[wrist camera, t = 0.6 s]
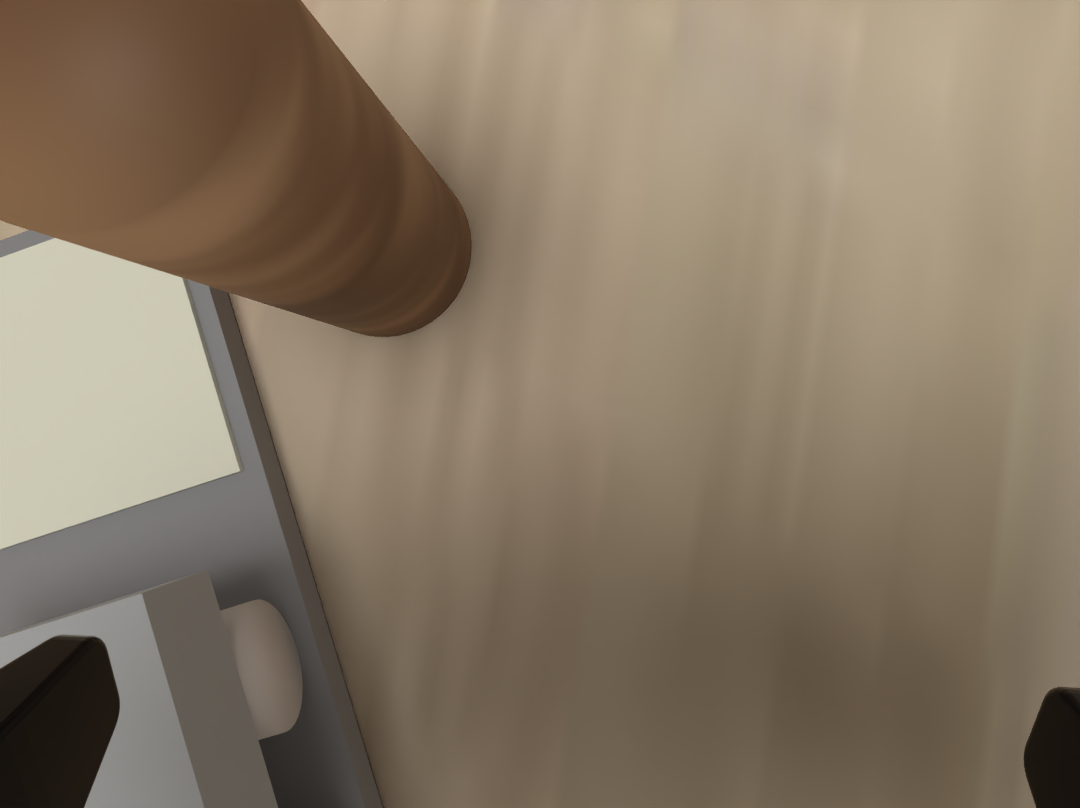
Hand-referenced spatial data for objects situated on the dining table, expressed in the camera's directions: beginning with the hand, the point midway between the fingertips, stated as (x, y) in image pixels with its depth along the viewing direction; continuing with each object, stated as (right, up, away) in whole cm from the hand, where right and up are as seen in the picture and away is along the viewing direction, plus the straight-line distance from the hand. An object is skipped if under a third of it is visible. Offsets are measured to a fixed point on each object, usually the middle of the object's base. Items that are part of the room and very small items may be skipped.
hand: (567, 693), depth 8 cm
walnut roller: (-4, +7, +14) cm, 16 cm away
